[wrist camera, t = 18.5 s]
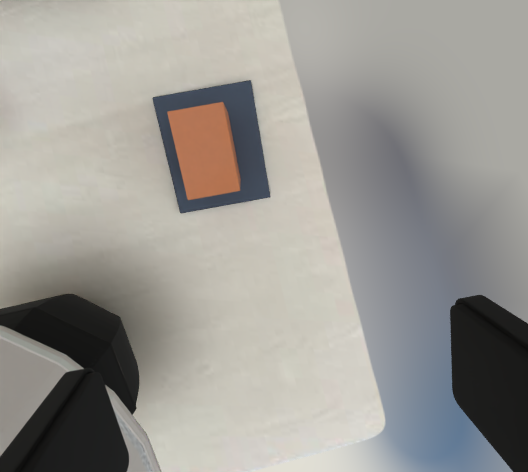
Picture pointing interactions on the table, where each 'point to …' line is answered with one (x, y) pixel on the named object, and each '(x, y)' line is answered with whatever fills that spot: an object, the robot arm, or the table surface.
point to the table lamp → (68, 365)
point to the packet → (205, 150)
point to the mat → (244, 137)
